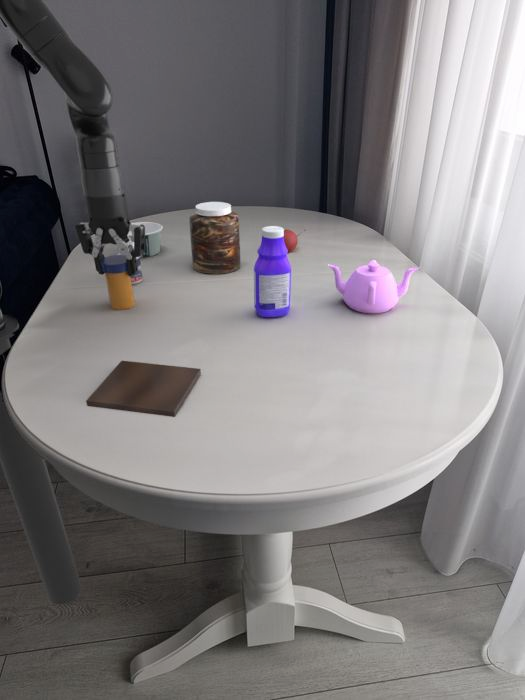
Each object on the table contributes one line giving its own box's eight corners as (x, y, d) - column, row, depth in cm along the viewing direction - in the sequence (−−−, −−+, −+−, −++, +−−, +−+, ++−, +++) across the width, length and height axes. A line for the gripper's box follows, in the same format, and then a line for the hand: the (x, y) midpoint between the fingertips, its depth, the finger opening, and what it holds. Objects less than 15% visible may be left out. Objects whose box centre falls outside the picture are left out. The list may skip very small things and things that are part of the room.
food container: (172, 253, 137) (170, 229, 134) (130, 262, 131) (126, 237, 128) (154, 242, 146) (151, 219, 142) (113, 250, 140) (109, 226, 137)
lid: (96, 272, 103) (94, 263, 102) (110, 262, 108) (108, 253, 107) (124, 274, 101) (122, 265, 100) (136, 264, 107) (135, 255, 106)
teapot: (413, 307, 106) (419, 266, 101) (361, 323, 100) (364, 280, 95) (375, 288, 115) (379, 249, 110) (324, 301, 109) (326, 261, 104)
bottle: (286, 305, 107) (287, 223, 99) (293, 316, 102) (294, 231, 94) (252, 308, 106) (250, 225, 97) (257, 320, 101) (256, 234, 92)
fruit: (295, 260, 137) (310, 233, 135) (277, 251, 135) (292, 224, 132) (287, 252, 142) (302, 226, 140) (270, 244, 140) (284, 218, 137)
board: (86, 406, 77) (85, 400, 76) (122, 365, 87) (121, 360, 86) (175, 417, 74) (174, 411, 74) (201, 373, 84) (200, 368, 84)
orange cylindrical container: (106, 308, 107) (98, 265, 102) (117, 299, 111) (110, 256, 106) (128, 310, 106) (121, 266, 101) (138, 301, 110) (132, 258, 105)
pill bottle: (132, 286, 117) (126, 249, 113) (115, 282, 120) (109, 245, 115) (147, 279, 121) (142, 242, 117) (131, 275, 124) (125, 239, 119)
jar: (233, 256, 135) (231, 198, 127) (245, 271, 125) (244, 209, 117) (189, 261, 131) (184, 202, 124) (198, 277, 122) (193, 214, 114)
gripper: (59, 193, 95) (76, 278, 103) (130, 196, 92) (142, 283, 101) (79, 185, 101) (94, 266, 110) (147, 187, 99) (157, 270, 107)
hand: (117, 274), depth 105 cm, fingers closed on lid, 6 cm apart
